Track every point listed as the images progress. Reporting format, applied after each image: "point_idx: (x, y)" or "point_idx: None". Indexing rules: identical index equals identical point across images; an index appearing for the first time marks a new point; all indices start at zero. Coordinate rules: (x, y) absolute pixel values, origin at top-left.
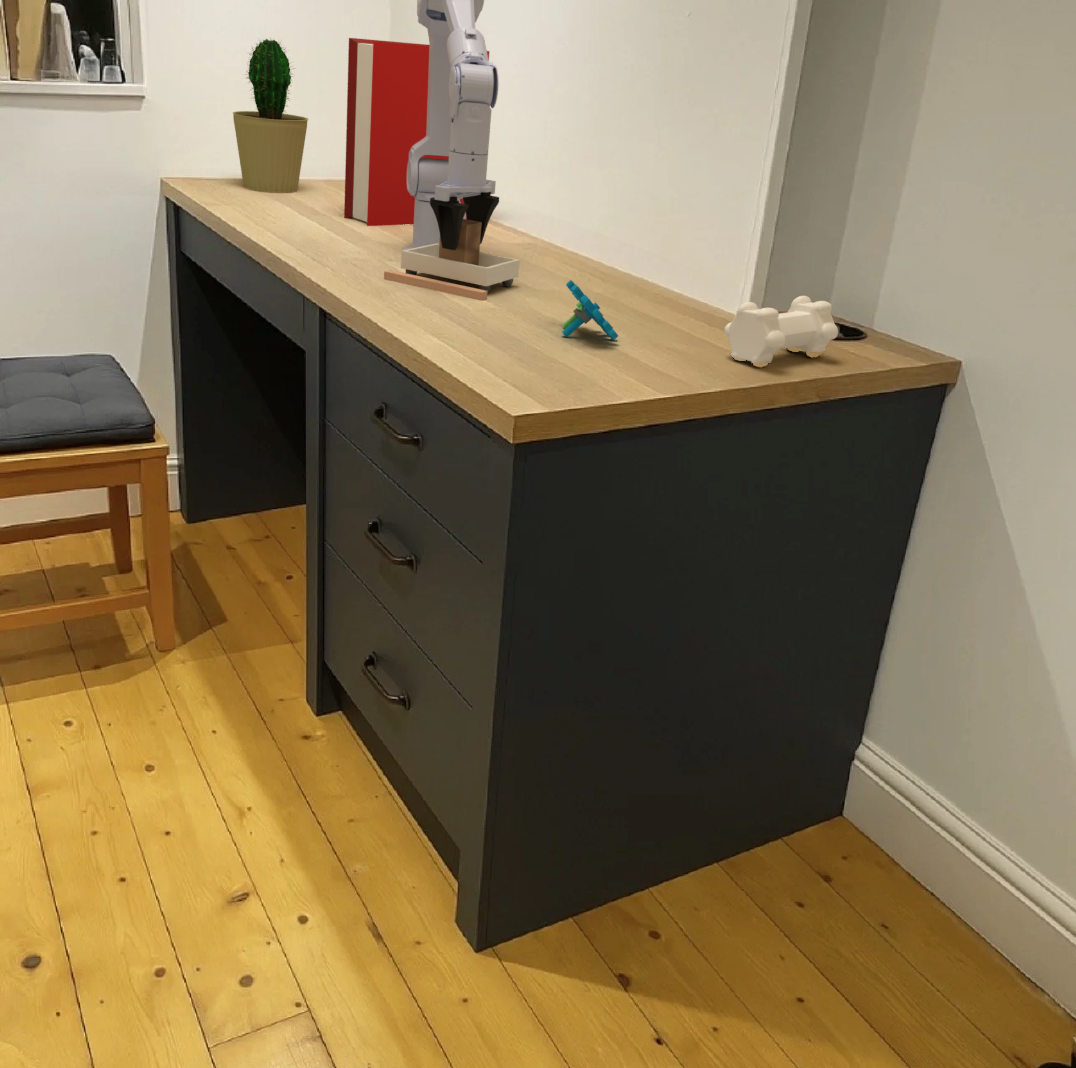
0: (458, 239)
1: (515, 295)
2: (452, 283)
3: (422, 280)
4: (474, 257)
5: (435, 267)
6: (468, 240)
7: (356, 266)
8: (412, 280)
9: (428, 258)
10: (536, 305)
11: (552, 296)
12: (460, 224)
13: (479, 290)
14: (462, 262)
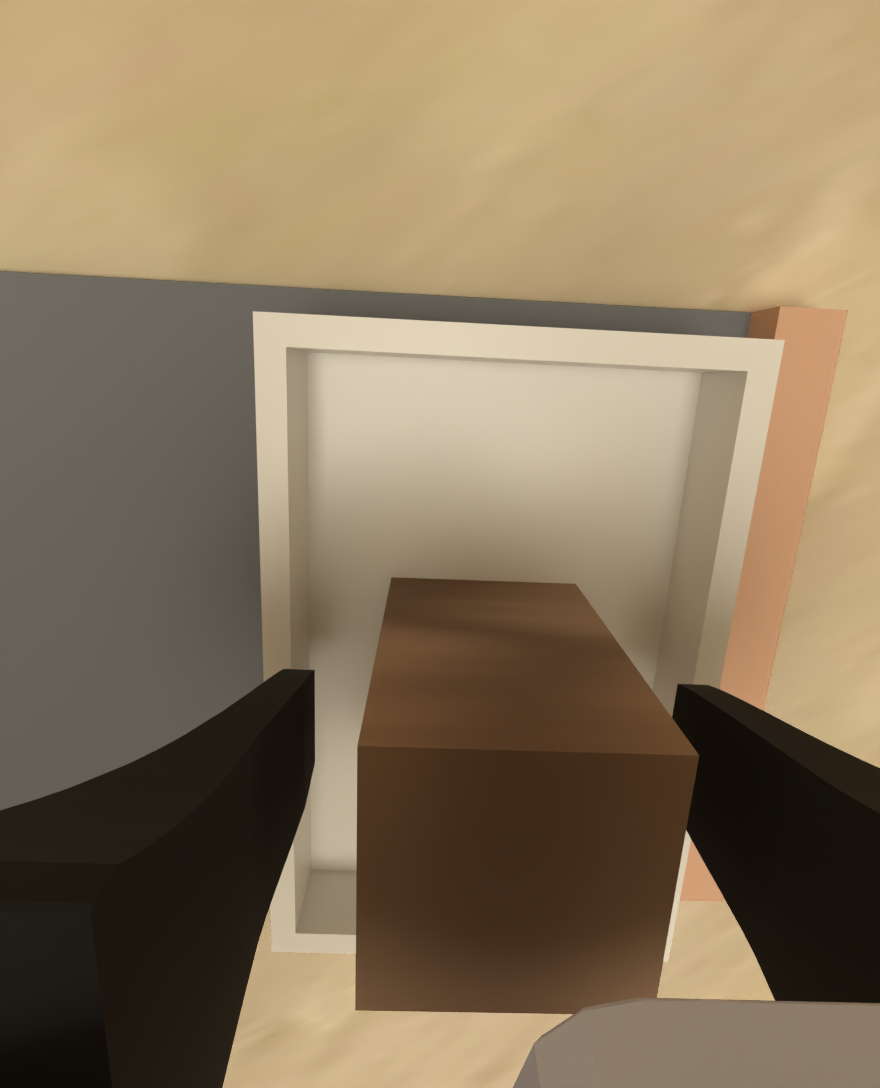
0: (725, 709)
1: (459, 262)
2: None
3: (764, 699)
4: (450, 607)
5: None
6: (591, 670)
7: (505, 1059)
8: None
9: None
10: (610, 24)
11: (288, 54)
12: (843, 776)
13: (800, 351)
14: (714, 571)
